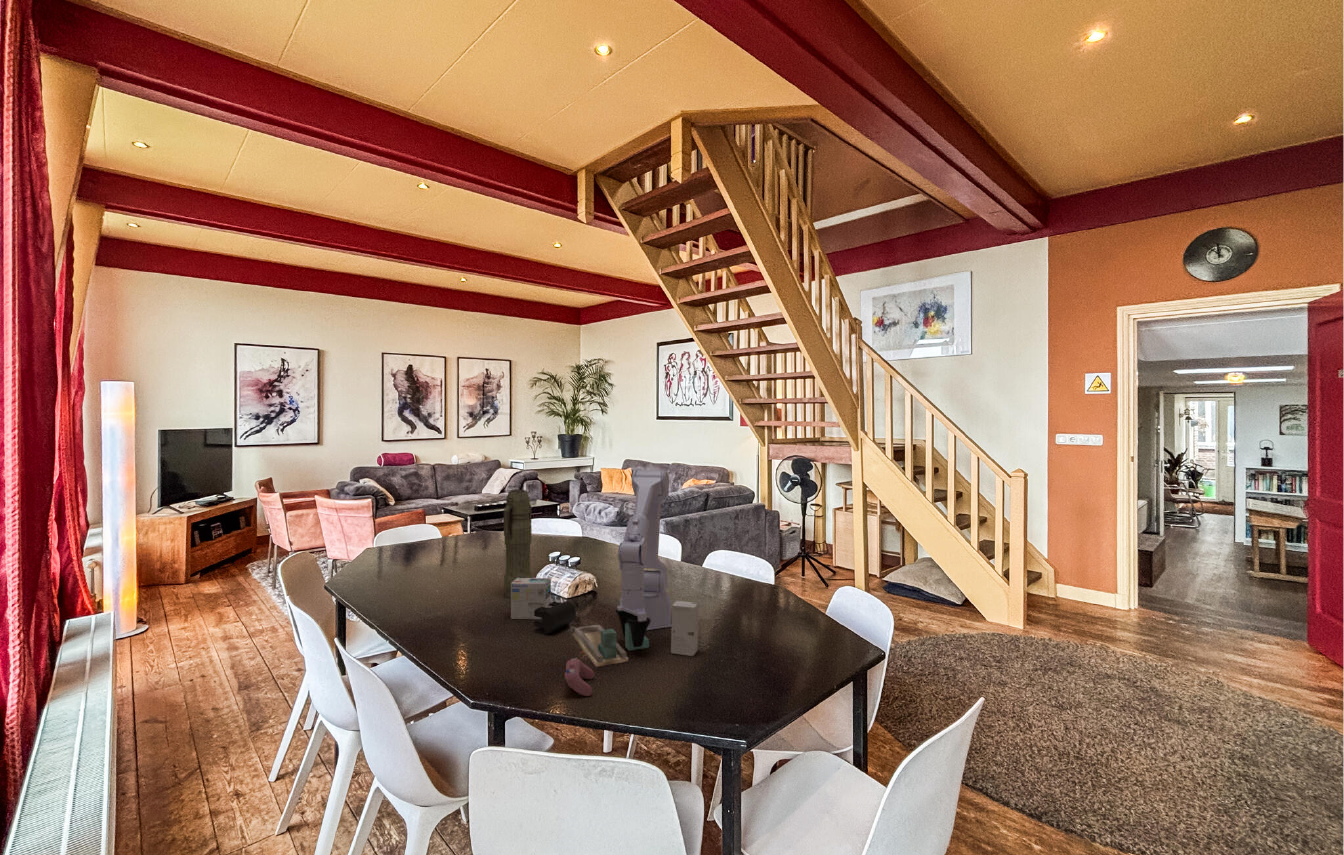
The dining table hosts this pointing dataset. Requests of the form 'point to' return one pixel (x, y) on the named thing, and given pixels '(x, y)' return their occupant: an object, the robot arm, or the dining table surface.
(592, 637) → the wooden tray
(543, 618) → the black lumpy piece
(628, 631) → the teal l-shaped block
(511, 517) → the thermos
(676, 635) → the skincare box
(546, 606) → the light bulb box
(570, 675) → the maroon curved piece
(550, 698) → the dining table surface
